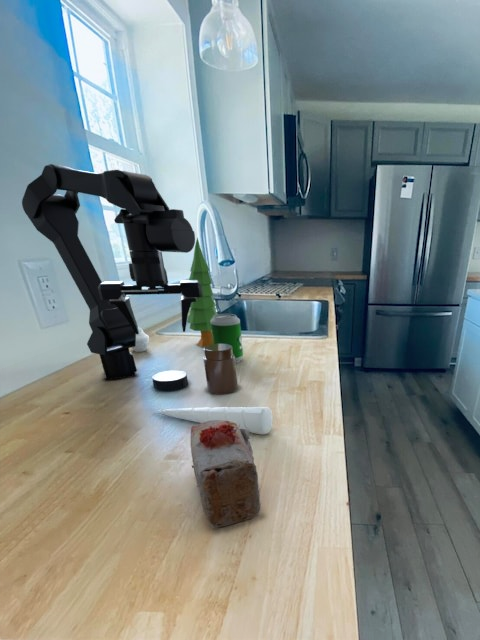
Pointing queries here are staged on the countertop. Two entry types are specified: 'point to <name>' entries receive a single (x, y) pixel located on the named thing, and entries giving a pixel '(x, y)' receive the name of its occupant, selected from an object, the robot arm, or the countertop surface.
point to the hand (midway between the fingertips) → (161, 332)
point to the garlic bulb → (141, 341)
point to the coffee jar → (220, 369)
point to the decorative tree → (202, 299)
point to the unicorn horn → (228, 416)
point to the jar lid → (170, 380)
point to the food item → (225, 472)
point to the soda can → (228, 333)
